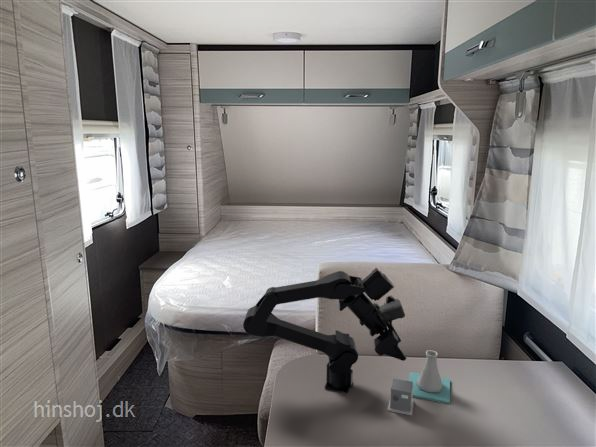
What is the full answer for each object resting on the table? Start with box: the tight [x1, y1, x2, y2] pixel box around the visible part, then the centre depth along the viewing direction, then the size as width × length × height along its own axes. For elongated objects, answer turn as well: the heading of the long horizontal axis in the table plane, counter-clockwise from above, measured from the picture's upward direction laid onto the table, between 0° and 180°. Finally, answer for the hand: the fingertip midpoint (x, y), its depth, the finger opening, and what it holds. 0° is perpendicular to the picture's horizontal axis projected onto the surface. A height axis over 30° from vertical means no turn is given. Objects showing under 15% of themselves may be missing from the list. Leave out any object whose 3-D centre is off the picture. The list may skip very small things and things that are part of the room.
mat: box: [408, 371, 451, 405], centre depth 122 cm, size 11×11×1 cm
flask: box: [416, 349, 443, 392], centre depth 121 cm, size 7×7×10 cm
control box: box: [387, 377, 414, 416], centre depth 114 cm, size 6×6×6 cm
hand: (402, 350), depth 121 cm, fingers open, 9 cm apart
